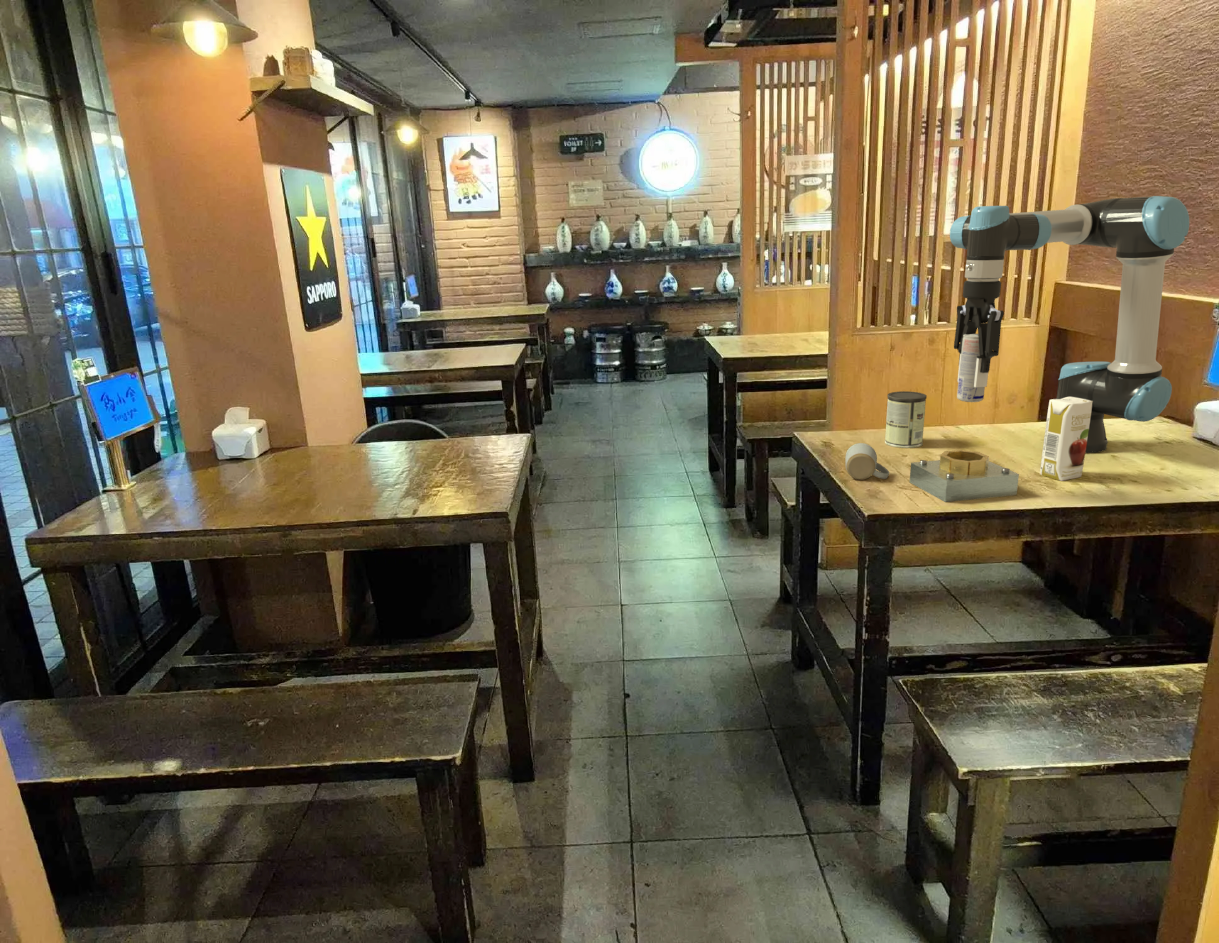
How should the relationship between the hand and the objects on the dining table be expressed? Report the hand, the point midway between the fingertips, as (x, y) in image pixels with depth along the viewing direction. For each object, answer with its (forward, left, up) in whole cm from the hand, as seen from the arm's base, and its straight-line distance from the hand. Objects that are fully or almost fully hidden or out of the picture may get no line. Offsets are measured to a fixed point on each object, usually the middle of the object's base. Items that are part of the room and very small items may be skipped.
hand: (971, 383), depth 184 cm
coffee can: (-8, -40, -25) cm, 48 cm away
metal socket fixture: (0, 0, -25) cm, 25 cm away
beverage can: (0, 0, -4) cm, 4 cm away
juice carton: (-28, -2, -25) cm, 38 cm away
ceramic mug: (+17, -15, -25) cm, 34 cm away
